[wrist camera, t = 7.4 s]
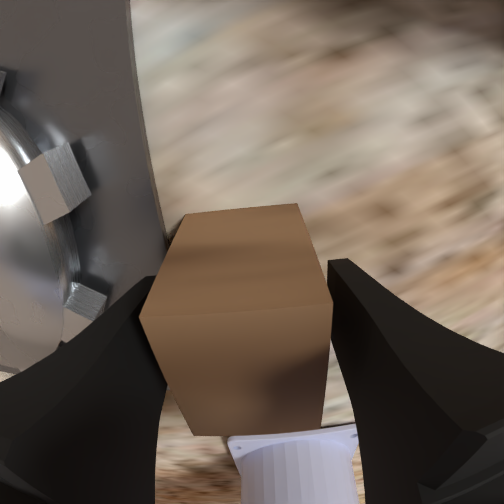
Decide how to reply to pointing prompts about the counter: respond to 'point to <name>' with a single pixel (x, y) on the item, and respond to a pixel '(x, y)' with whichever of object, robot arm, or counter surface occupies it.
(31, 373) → the robot arm
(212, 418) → the link block
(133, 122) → the plate
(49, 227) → the sprocket
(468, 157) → the counter surface
